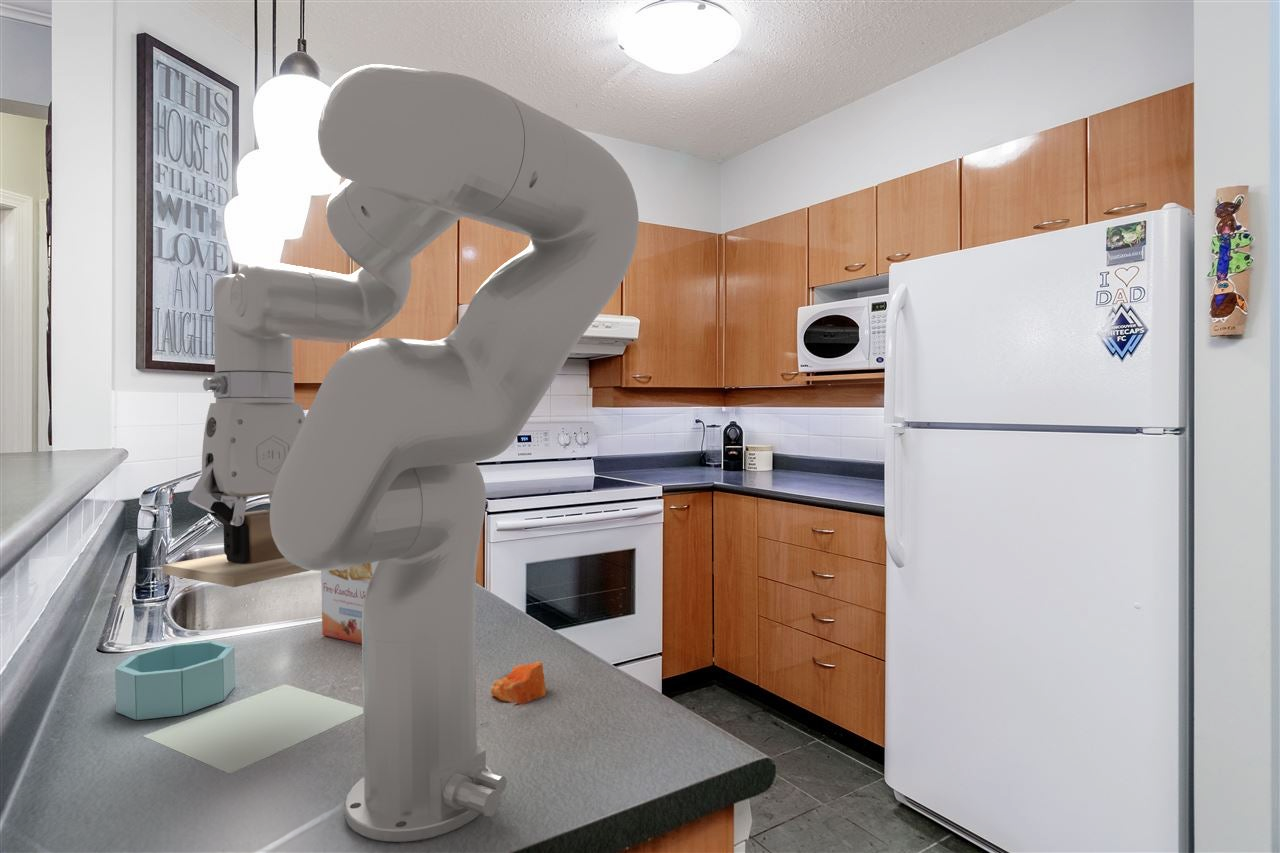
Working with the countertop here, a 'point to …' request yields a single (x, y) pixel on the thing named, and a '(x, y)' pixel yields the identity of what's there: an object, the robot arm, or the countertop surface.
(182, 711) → the bowl
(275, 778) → the countertop surface
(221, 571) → the lid
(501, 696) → the rock
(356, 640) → the cracker box
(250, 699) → the mat
